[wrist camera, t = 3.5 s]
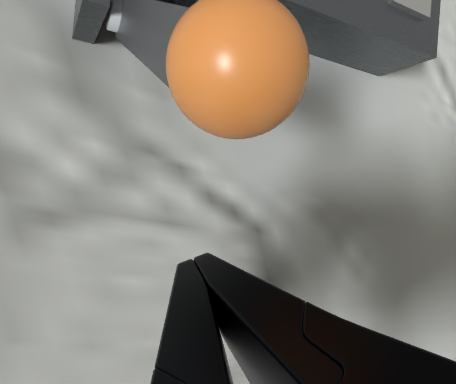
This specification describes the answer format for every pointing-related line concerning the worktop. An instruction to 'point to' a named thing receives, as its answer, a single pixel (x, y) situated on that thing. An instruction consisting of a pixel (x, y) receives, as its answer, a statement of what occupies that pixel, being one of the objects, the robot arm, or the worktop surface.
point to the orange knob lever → (220, 59)
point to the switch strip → (334, 29)
